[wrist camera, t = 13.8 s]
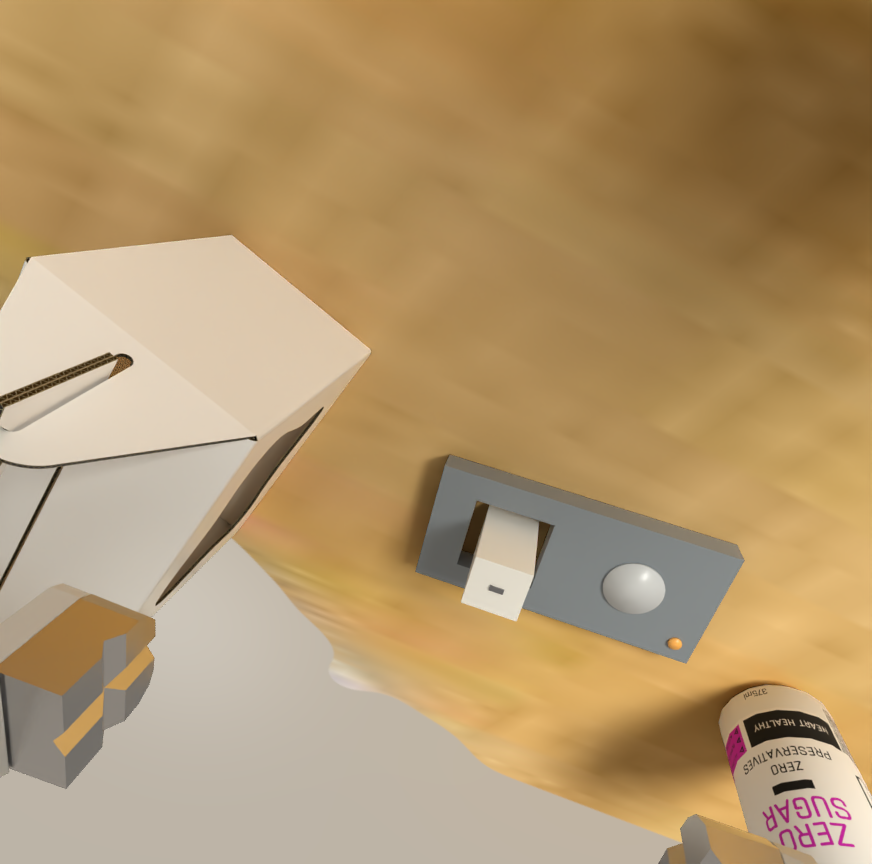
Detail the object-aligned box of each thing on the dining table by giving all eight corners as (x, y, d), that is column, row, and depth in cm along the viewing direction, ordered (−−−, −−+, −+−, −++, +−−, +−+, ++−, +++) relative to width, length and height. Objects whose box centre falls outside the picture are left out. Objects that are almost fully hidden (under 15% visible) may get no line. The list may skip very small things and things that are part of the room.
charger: (539, 519, 45) (534, 576, 38) (524, 559, 47) (516, 622, 40) (490, 503, 46) (475, 557, 39) (476, 544, 47) (460, 603, 40)
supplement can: (775, 770, 49) (853, 990, 35) (695, 718, 49) (742, 918, 35) (853, 718, 46) (973, 939, 32) (767, 661, 45) (851, 859, 32)
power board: (737, 544, 42) (745, 562, 40) (681, 645, 46) (686, 665, 44) (449, 454, 45) (444, 466, 43) (421, 558, 49) (414, 573, 47)
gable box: (236, 532, 52) (-82, 851, 27) (117, 439, 51) (-333, 678, 26) (375, 348, 43) (91, 566, 17) (232, 229, 42) (-290, 279, 16)
